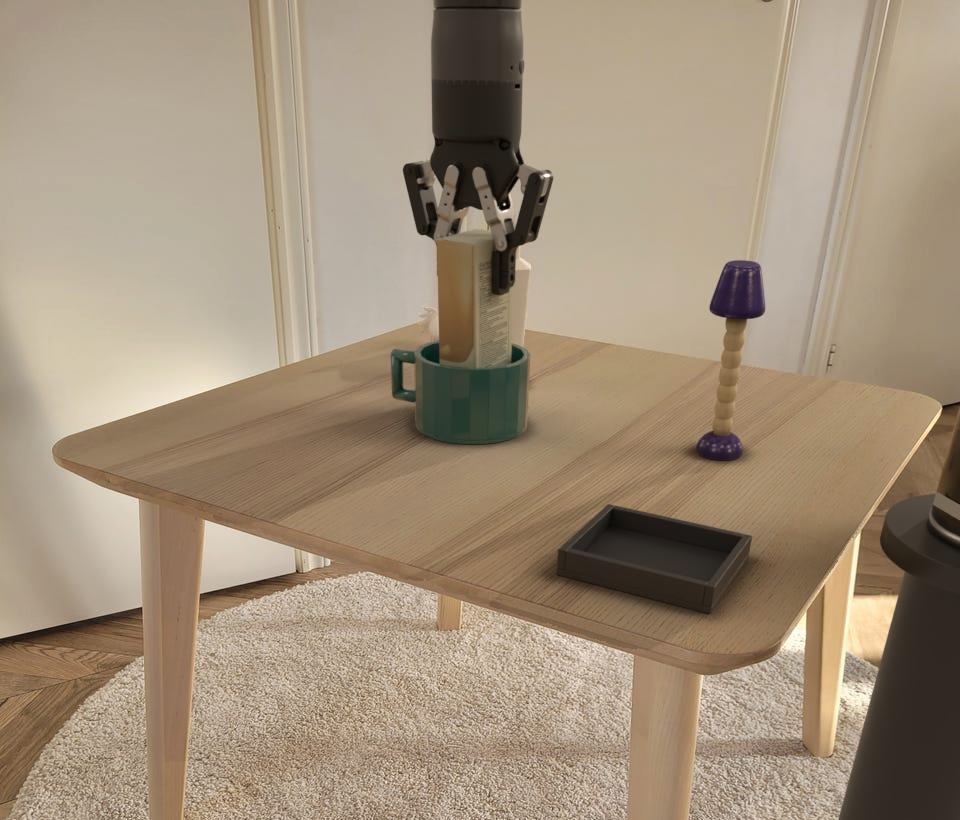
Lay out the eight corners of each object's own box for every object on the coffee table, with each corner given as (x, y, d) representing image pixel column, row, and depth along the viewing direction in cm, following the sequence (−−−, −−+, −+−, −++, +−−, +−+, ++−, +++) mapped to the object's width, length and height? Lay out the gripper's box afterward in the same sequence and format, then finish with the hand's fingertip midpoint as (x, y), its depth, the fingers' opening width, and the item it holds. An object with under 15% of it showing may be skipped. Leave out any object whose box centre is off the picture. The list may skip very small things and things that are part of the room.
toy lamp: (738, 465, 89) (769, 270, 81) (686, 458, 91) (711, 265, 82) (745, 447, 93) (775, 259, 84) (695, 441, 94) (720, 255, 86)
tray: (748, 560, 73) (752, 535, 72) (710, 614, 66) (714, 587, 65) (605, 527, 77) (607, 503, 76) (556, 574, 70) (557, 549, 69)
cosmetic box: (476, 360, 98) (476, 227, 92) (513, 368, 96) (516, 232, 89) (436, 375, 93) (434, 236, 87) (473, 384, 91) (474, 241, 85)
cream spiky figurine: (416, 341, 123) (416, 301, 121) (459, 341, 124) (460, 301, 121) (421, 369, 113) (421, 326, 111) (468, 368, 114) (469, 326, 111)
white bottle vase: (537, 385, 108) (544, 239, 101) (504, 392, 106) (509, 242, 99) (512, 375, 112) (518, 232, 104) (480, 381, 110) (483, 235, 102)
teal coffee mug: (544, 418, 99) (548, 348, 96) (494, 452, 91) (496, 376, 87) (420, 395, 105) (420, 327, 101) (363, 424, 97) (359, 352, 93)
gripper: (378, 73, 82) (387, 289, 91) (535, 77, 76) (528, 307, 85) (426, 72, 88) (429, 275, 96) (575, 75, 82) (564, 291, 91)
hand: (475, 289), depth 91 cm, fingers closed on cosmetic box, 4 cm apart
